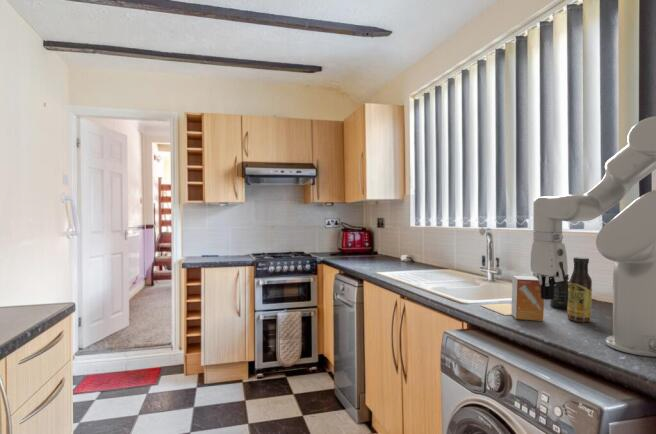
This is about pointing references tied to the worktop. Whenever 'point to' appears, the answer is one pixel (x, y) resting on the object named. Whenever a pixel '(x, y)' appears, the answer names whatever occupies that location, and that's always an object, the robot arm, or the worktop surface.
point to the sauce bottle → (580, 292)
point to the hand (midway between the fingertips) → (547, 298)
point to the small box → (527, 298)
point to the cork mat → (500, 308)
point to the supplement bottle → (560, 294)
